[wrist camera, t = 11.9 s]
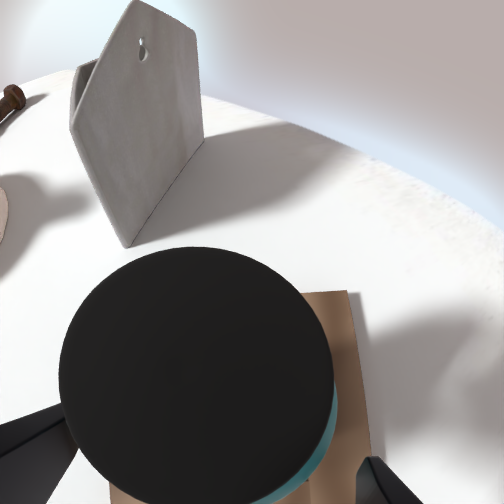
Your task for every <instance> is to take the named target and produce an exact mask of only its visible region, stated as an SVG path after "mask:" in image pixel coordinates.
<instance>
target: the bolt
mask: <svg viewBox="0 0 504 504" xmlns="http://www.w3.org/2000/svg"><path fill="white" fill-rule="evenodd" d="M25 104H26V98H25V95H24V93H23V91H22V90H21V89H20V88H19V87H18V86H16V85H14V84H12V85H9V86H7V87H6V88H5V89H4V97H3V98H2V99H1V100H0V122H1V121H2V120H3V119H4V118H5V117H6V116H7V115H8V114H9V113H10V112H11V111H12V110H14V109H18V110H21V109H22V108H23V107H24V106H25Z"/></svg>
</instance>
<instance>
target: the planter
mask: <svg viewBox="0 0 504 504" xmlns="http://www.w3.org/2000/svg"><path fill="white" fill-rule="evenodd" d="M140 38H141V40H142V45H140V43H139V40H140ZM196 41H197V40H196V34H195V32H194V31H193V30H192V29H190V28H189V27H187V26H186V25H184V24H183V23H181V22H180V21H178V20H176V19H175V18H173V17H171V16H169V15H167V14H166V13H164V12H162V11H160V10H158V9H156V8H154V7H152V6H150V5H148V4H146V3H144V2H142V1H140V0H132V1H131V2H130V3H129V5H128V6H127V8H126V9H125V11H124V13H123V15H122V16H121V18H120V20H119V21H118V23H117V25H116V27H115V28H114V30H113V32H112V34H111V36H110V37H109V39H108V41H107V43H106V45H105V47H104V49H103V51H102V53H101V55H100V57H99V58H98V59H95V60H92V61H90V62H88V63H85V64H83V65H81V66H79V67H77V70H76V73H75V76H74V79H73V84H72V91H71V98H70V121H69V129H70V133H71V135H72V138H73V141H74V143H75V146H76V148H77V151H78V153H79V156H80V158H81V160H82V163H83V165H84V167H85V169H86V172H87V174H88V176H89V178H90V181H91V183H92V185H93V187H94V189H95V191H96V194H97V196H98V198H99V200H100V202H101V204H102V206H103V208H104V210H105V212H106V215H107V217H108V219H109V221H110V223H111V225H112V227H113V229H114V231H115V233H116V235H117V236H118V238H119V240H120V242H121V244H122V246H123V247H124V248H129V247H130V246H131V244H132V243H133V241H134V239H135V237H136V236H137V234H138V233H139V231H140V230H141V228H142V227H143V225H144V224H145V222H146V221H147V219H148V218H149V216H150V215H151V213H152V212H153V210H154V209H155V207H156V206H157V204H158V203H159V202H160V200H161V199H162V197H163V196H164V194H165V193H166V192H167V190H168V189H169V187H170V186H171V184H172V183H173V182H174V180H175V179H176V177H177V176H178V175H179V173H180V172H181V170H182V169H183V168H184V166H185V165H186V164H187V162H188V161H189V160H190V158H191V157H192V156H193V154H194V153H195V152H196V150H197V149H198V148H199V146H200V145H201V144H202V143H203V141H204V131H203V119H202V107H201V94H200V81H199V66H198V52H197V42H196Z"/></svg>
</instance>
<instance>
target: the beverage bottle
mask: <svg viewBox="0 0 504 504" xmlns="http://www.w3.org/2000/svg"><path fill="white" fill-rule="evenodd" d="M58 374H59V393H60V399H61V405H62V409H63V412H64V416H65V419H66V422H67V425H68V427H69V429H70V432H71V434H72V436H73V438H74V440H75V442H76V443H77V445H78V447H79V448H80V450H81V452H82V453H83V455H84V456H85V457H86V458H87V460H88V461H89V462H90V463H91V465H92V466H93V467H94V468H95V469H96V470H97V471H98V472H99V473H100V474H101V475H102V476H103V477H104V478H105V479H106V480H108V481H109V482H110V483H112V484H113V485H114V486H116V487H117V488H118V489H119V490H121V491H123V492H124V493H126V494H128V495H130V496H131V497H133V498H135V499H137V500H139V501H142V502H144V503H147V504H272V503H274V502H277V501H279V500H281V499H283V498H284V497H286V496H287V495H289V494H290V493H292V492H293V491H295V490H296V489H297V488H298V487H299V486H300V485H302V484H303V483H304V482H305V481H306V480H307V479H308V478H309V477H310V475H311V474H312V473H313V472H314V471H315V470H316V468H317V467H318V465H319V464H320V462H321V461H322V459H323V458H324V456H325V454H326V452H327V450H328V447H329V445H330V443H331V440H332V437H333V434H334V430H335V425H336V419H337V403H338V402H337V392H336V386H335V381H334V368H333V361H332V354H331V351H330V347H329V343H328V340H327V337H326V335H325V332H324V329H323V327H322V324H321V322H320V321H319V319H318V317H317V316H316V314H315V312H314V310H313V309H312V307H311V306H310V305H309V304H308V302H307V301H306V300H305V298H304V297H303V296H302V295H301V294H300V293H299V292H298V290H297V289H296V288H295V287H294V286H293V285H292V284H291V283H289V282H288V281H287V280H286V279H285V278H283V277H282V276H281V275H280V274H278V273H277V272H275V271H274V270H272V269H271V268H269V267H268V266H266V265H264V264H262V263H260V262H258V261H256V260H254V259H252V258H250V257H247V256H244V255H241V254H239V253H236V252H232V251H227V250H223V249H218V248H209V247H181V248H172V249H167V250H163V251H158V252H155V253H152V254H149V255H146V256H143V257H141V258H138V259H136V260H134V261H132V262H129V263H128V264H126V265H124V266H123V267H121V268H119V269H117V270H116V271H115V272H113V273H112V274H111V275H109V276H108V277H107V278H105V279H104V280H103V281H102V282H101V283H100V284H99V285H97V286H96V287H95V288H94V289H93V290H92V291H91V293H90V294H89V295H88V296H87V297H86V299H85V300H84V301H83V303H82V304H81V306H80V307H79V309H78V310H77V312H76V313H75V315H74V317H73V319H72V321H71V323H70V325H69V327H68V330H67V333H66V336H65V339H64V342H63V346H62V350H61V355H60V361H59V373H58Z"/></svg>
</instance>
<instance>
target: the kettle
mask: <svg viewBox="0 0 504 504" xmlns="http://www.w3.org/2000/svg"><path fill="white" fill-rule="evenodd" d="M7 219H8V200H7V197H6V194H5V191H4V190H3V189H2V188H1V187H0V243H1V241H2V238H3V235H4V231H5V227H6V223H7Z"/></svg>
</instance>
